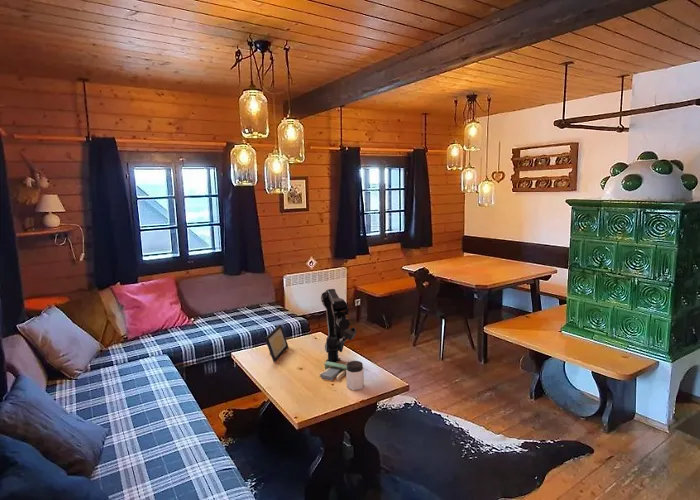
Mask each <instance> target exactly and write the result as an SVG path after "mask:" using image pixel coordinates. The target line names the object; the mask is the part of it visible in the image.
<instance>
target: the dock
mask: <svg viewBox="0 0 700 500" xmlns="http://www.w3.org/2000/svg"><path fill="white" fill-rule="evenodd" d="M323 365H324V371H322V372H319V378H322V376H321V375H322V374H323V373H325V372H326V371H327V370H328V369H330V368H331V367H337V368H342V372H341V373H340V374H338V376H336V377H335V378H336V379H335V380H336V381H337V382H339V381H340V379H342V377H343V376H345V375H346V370H347V364H344V363H339V362H336V363H334V362H329V361H327V362H326V361H325V362H324V364H323Z"/></svg>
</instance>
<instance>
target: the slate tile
mask: <svg viewBox="0 0 700 500" xmlns="http://www.w3.org/2000/svg"><path fill="white" fill-rule="evenodd" d="M341 372H342V368H337V367H331V368H330V369H328V370H327V371H326V372H325V373H323V374H322V375H321V376H322V377H321V379H322V380H327V381H330V382H331V381H333V380H334V379H335V378H336V377H337V376H338V374H340V373H341Z"/></svg>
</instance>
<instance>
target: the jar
mask: <svg viewBox="0 0 700 500" xmlns="http://www.w3.org/2000/svg"><path fill="white" fill-rule="evenodd" d="M346 365H347V370H346V374H345V375H346V376H345V378H346V379H345V380H346V388H347V389H349V390H351V391H358V390H362V389H363V388H364V386H365V379H364V378H365V375H364V365H363V362H362V361H359V360H351V361H348V362H346Z"/></svg>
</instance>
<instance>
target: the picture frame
mask: <svg viewBox="0 0 700 500" xmlns="http://www.w3.org/2000/svg"><path fill="white" fill-rule="evenodd" d="M264 341H265V343H266V345H267V348H268V352H269V355H270V356H271V360H272V362H273V363H275V362H276V361H277V360H278V359H279V358H280V357H281V356H282V354H283V353H284V352H285V351H286V350H287V349H288V348H289V344H288V342H287V339H286V336H285V333H284V331H283V328H282V325H281V324H279V325H277V326H276V327H275V328H274V329H272V331H270V333H268V334H267V335H266V336H265V337H264Z"/></svg>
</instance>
